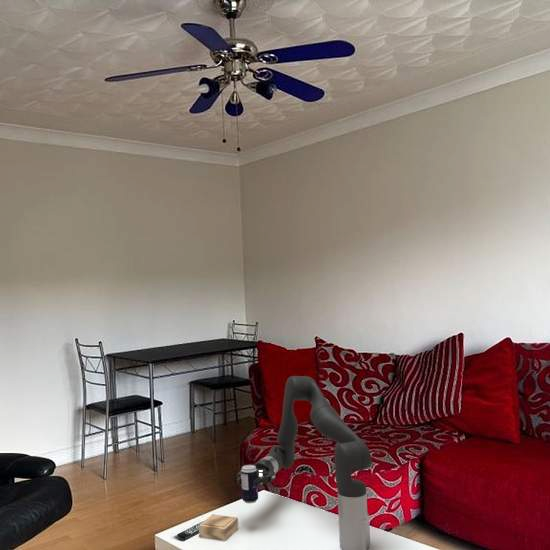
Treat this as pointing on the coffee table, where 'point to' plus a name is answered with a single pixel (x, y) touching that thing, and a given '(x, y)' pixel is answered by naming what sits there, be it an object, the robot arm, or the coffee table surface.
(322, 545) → the coffee table surface
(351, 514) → the robot arm
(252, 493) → the beverage can
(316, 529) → the coffee table surface
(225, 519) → the base block
